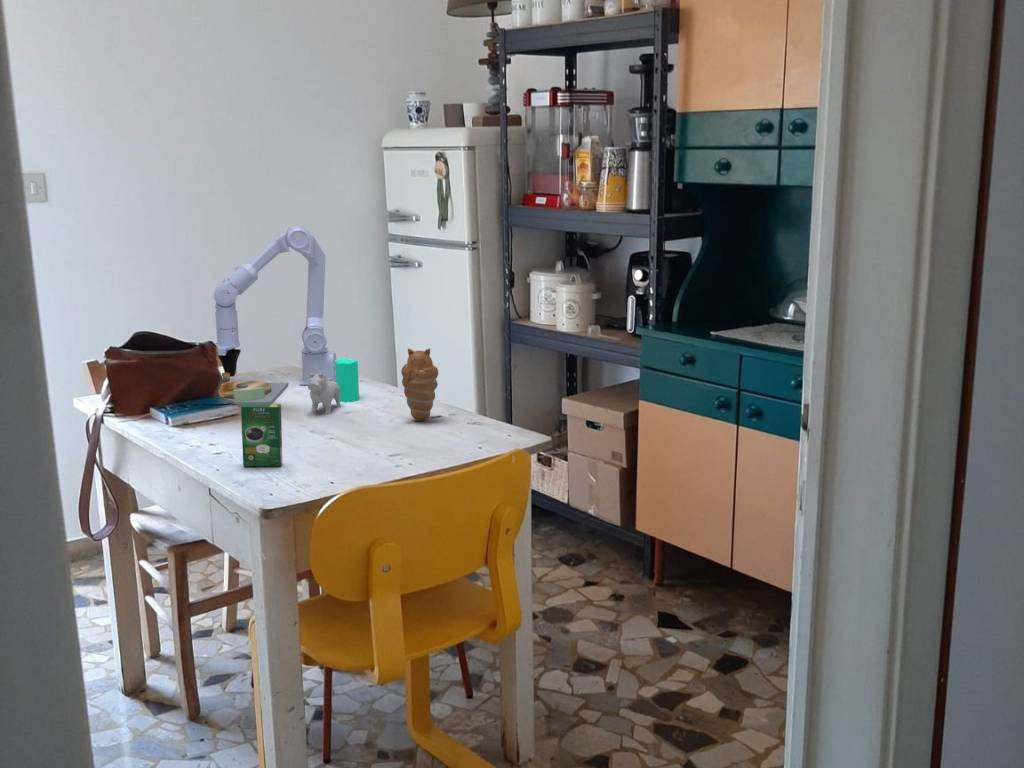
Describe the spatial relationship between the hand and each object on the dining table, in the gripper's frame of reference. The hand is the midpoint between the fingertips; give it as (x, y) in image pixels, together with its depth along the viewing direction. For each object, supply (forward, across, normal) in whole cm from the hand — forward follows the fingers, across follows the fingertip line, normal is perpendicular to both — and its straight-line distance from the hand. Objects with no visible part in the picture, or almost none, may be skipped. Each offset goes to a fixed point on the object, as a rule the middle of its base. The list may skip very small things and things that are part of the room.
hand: (230, 376), depth 273 cm
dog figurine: (+3, +26, +31) cm, 41 cm away
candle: (+3, +14, +35) cm, 38 cm away
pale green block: (+2, +18, +9) cm, 20 cm away
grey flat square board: (+3, +10, +6) cm, 11 cm away
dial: (+2, +10, +6) cm, 11 cm away
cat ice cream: (+3, +36, +56) cm, 67 cm away
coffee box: (+3, +72, +26) cm, 76 cm away
